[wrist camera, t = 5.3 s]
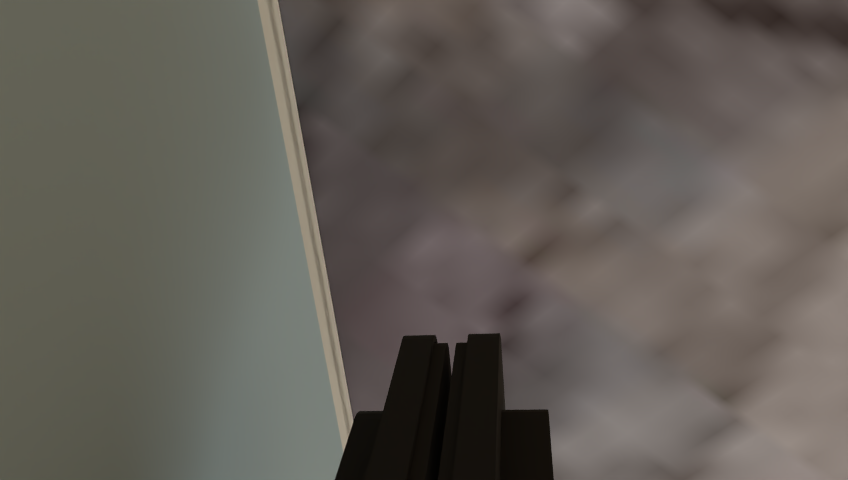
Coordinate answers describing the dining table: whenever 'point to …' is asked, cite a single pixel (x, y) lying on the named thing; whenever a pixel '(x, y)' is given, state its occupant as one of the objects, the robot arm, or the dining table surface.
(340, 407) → the box
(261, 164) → the lid
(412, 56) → the dining table surface
